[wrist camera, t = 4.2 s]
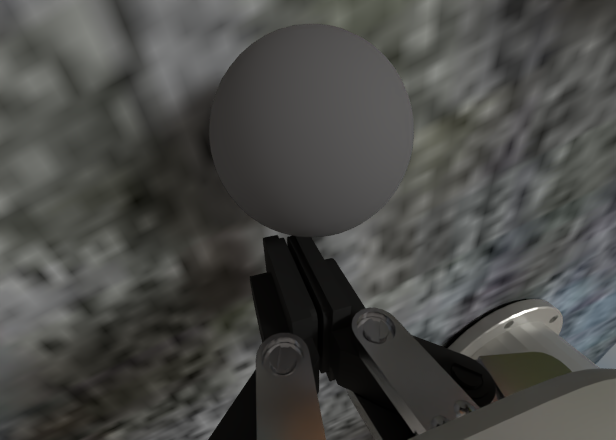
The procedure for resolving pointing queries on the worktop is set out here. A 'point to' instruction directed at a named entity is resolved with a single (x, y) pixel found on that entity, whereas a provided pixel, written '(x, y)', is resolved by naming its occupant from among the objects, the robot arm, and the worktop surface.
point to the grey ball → (311, 130)
